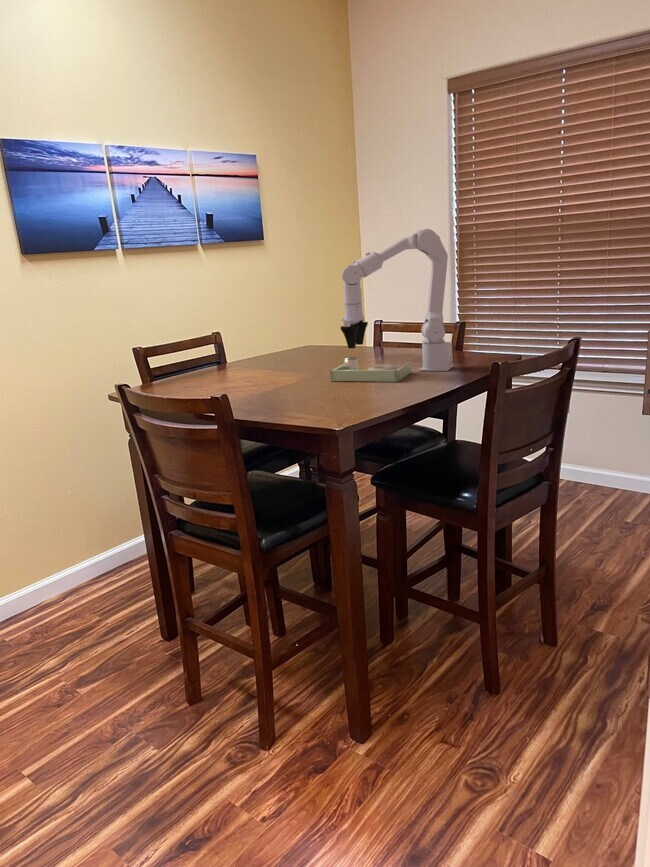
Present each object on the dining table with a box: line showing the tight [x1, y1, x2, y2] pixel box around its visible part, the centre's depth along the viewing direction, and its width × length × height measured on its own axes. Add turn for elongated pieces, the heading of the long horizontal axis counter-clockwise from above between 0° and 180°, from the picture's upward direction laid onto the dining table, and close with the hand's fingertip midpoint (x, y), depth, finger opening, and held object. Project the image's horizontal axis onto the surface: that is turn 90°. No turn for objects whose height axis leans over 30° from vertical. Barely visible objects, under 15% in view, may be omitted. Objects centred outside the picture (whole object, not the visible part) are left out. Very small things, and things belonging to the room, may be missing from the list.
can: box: [343, 356, 359, 370], centre depth 211 cm, size 4×4×6 cm
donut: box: [367, 364, 399, 370], centre depth 205 cm, size 10×4×10 cm
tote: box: [329, 361, 412, 383], centre depth 207 cm, size 22×15×4 cm
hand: (355, 346), depth 212 cm, fingers open, 7 cm apart
